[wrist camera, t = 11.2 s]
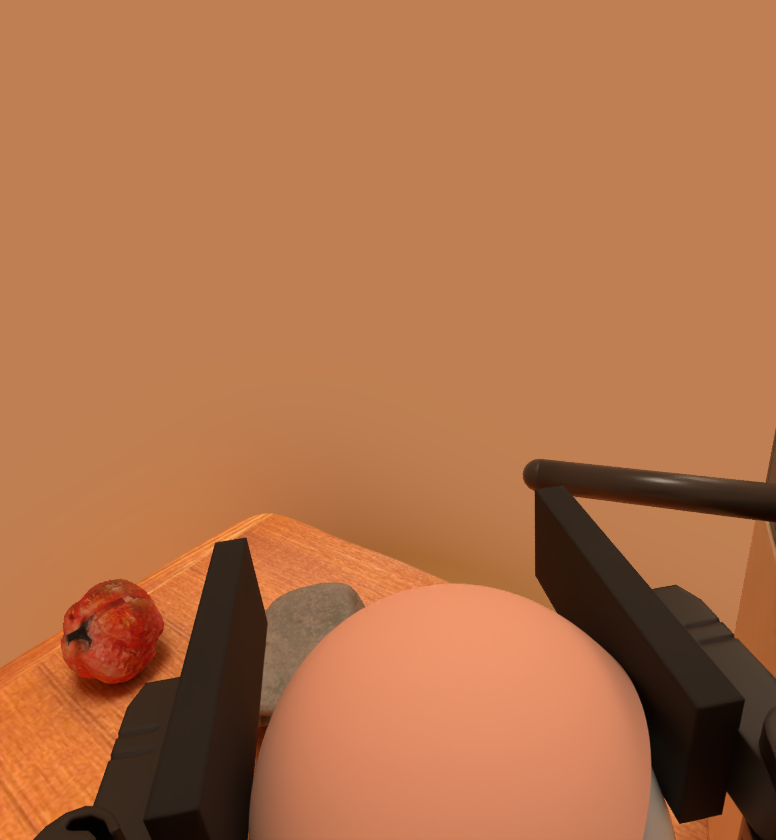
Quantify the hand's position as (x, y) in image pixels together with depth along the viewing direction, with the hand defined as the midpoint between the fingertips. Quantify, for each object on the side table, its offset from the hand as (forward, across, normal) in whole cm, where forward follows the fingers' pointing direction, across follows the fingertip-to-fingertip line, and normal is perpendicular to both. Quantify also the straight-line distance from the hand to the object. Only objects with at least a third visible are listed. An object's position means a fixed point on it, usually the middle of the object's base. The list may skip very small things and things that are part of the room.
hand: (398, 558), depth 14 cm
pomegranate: (+24, -21, -24) cm, 40 cm away
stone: (+18, -6, -24) cm, 31 cm away
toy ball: (-5, 0, -6) cm, 8 cm away
